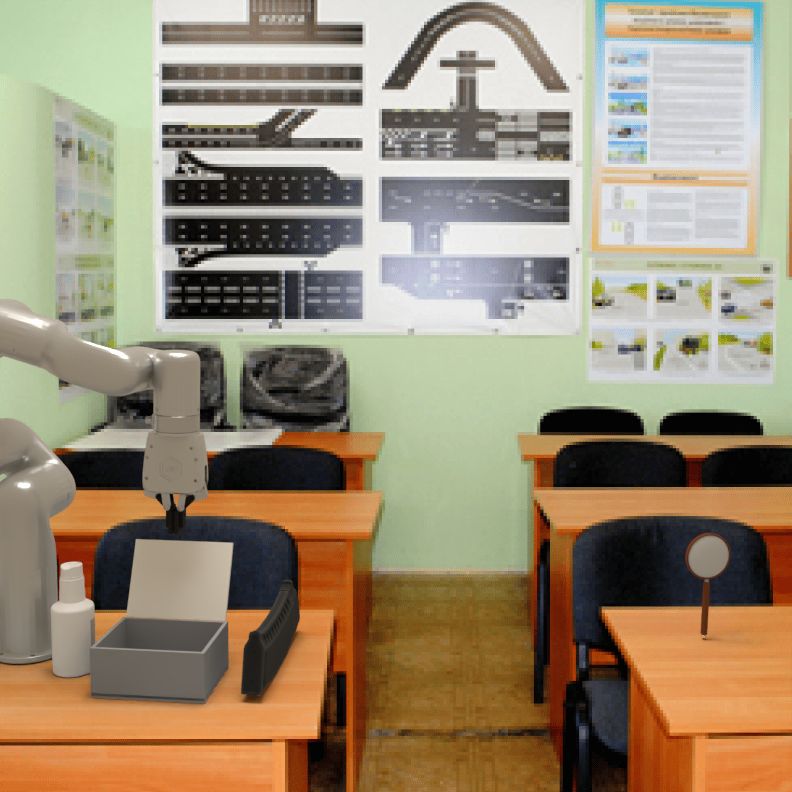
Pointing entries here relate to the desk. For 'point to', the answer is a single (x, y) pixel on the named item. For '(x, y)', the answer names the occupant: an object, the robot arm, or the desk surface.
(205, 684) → the carton
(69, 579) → the spray bottle
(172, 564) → the carton flap
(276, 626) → the magazine
